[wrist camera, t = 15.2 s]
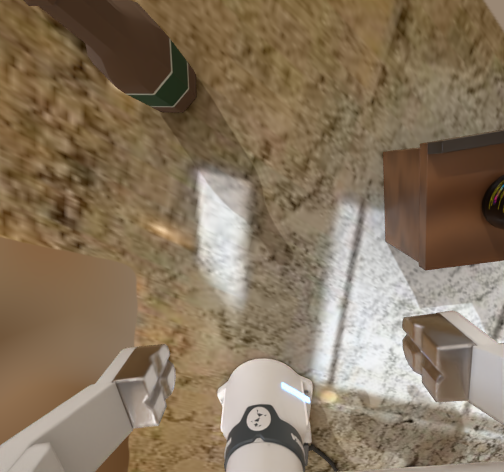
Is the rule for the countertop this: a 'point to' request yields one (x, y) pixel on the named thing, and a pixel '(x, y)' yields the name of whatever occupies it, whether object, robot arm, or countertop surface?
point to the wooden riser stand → (444, 200)
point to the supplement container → (494, 203)
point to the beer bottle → (128, 50)
